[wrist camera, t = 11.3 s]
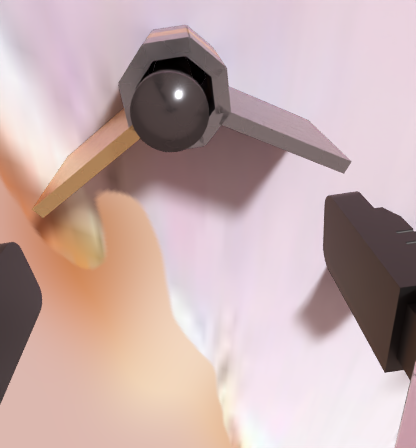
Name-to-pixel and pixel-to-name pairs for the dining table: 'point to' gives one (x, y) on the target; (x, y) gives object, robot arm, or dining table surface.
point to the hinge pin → (169, 107)
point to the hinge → (218, 115)
